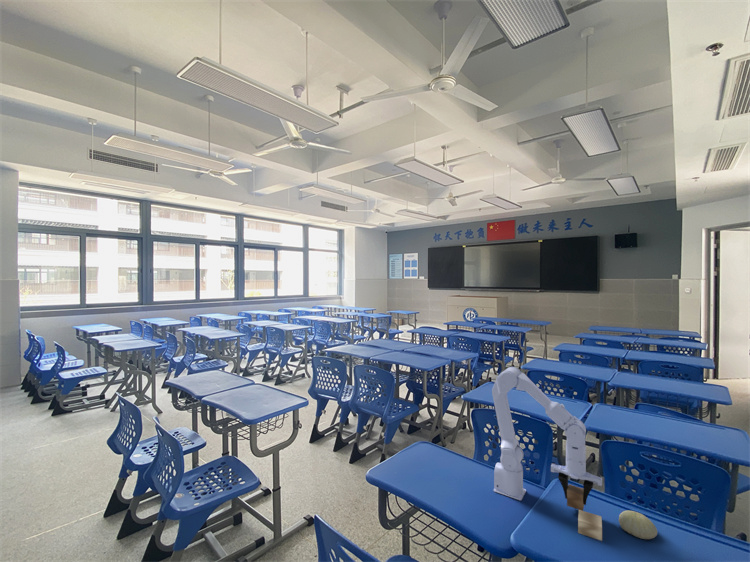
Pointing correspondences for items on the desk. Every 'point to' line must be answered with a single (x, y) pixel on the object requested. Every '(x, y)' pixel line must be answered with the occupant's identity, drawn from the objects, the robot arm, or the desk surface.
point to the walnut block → (575, 497)
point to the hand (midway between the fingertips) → (575, 500)
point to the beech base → (590, 525)
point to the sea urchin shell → (637, 525)
